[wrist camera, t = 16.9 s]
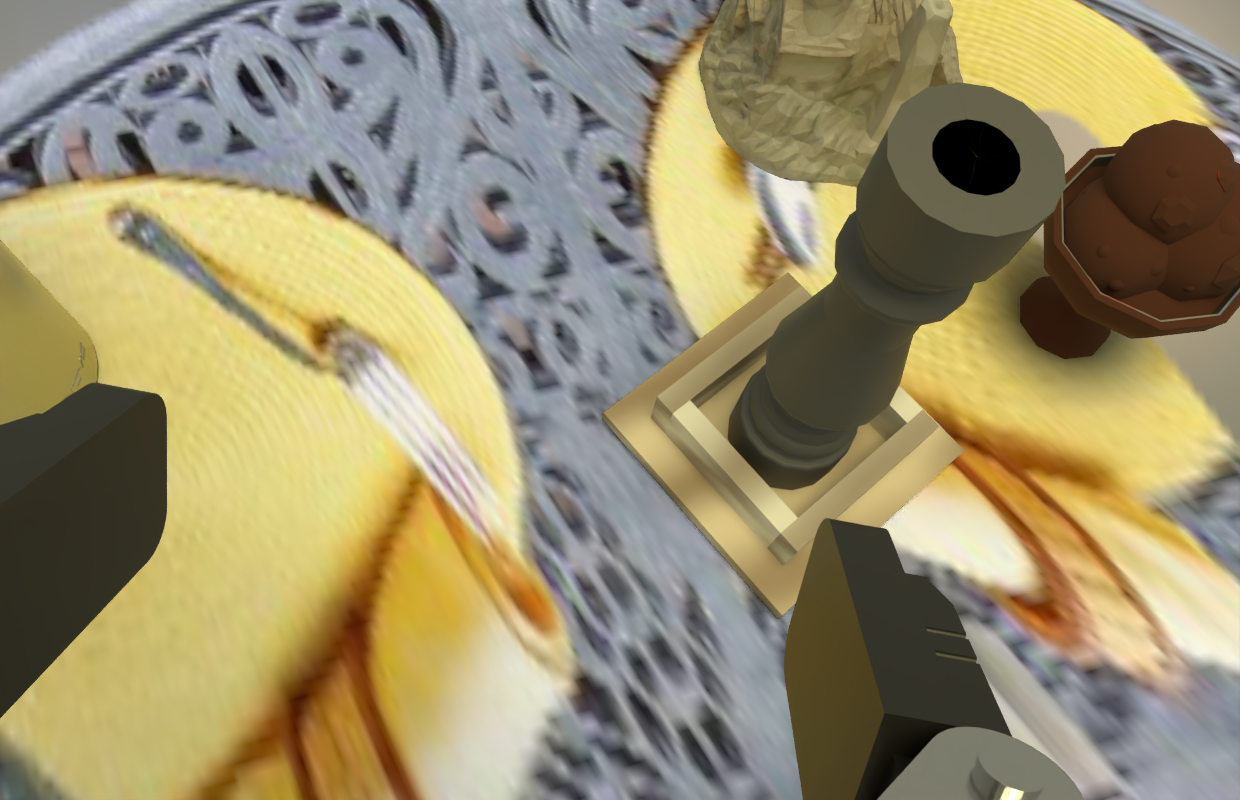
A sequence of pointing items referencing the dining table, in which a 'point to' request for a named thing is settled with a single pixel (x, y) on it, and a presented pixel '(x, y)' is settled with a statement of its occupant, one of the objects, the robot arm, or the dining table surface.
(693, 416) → the socket base
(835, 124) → the ceramic cottage
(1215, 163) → the ice cream bowl
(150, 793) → the dining table surface
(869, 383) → the candle holder
